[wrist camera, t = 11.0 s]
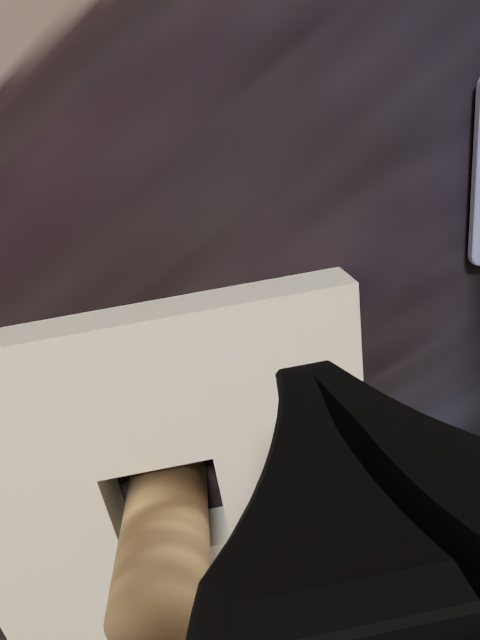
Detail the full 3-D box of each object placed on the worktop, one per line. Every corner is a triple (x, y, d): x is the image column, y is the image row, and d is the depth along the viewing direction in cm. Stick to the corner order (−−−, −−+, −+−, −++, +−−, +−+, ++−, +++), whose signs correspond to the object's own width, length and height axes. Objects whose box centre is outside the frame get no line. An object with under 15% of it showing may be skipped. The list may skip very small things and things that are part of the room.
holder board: (339, 266, 20) (358, 282, 18) (359, 568, 28) (374, 607, 26) (-103, 346, 19) (-143, 373, 17) (43, 634, 27) (30, 680, 25)
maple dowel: (198, 436, 23) (202, 575, 15) (212, 494, 24) (222, 646, 17) (122, 451, 23) (89, 599, 15) (141, 508, 24) (119, 669, 17)
